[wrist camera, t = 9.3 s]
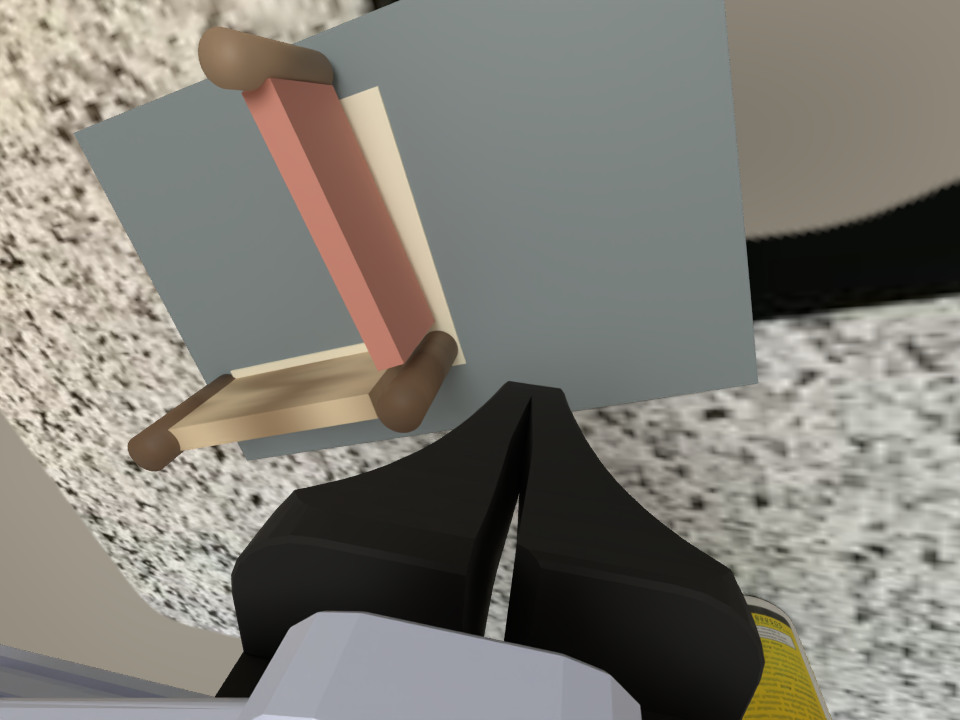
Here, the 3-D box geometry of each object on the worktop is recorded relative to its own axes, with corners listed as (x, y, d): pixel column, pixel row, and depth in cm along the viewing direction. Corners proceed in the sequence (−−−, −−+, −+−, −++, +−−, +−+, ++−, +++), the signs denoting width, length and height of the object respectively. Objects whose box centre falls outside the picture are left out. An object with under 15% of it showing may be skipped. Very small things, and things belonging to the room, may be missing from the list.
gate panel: (440, 319, 21) (400, 374, 16) (409, 328, 21) (363, 385, 17) (321, 42, 17) (229, 16, 13) (287, 60, 18) (188, 41, 13)
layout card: (251, 456, 27) (246, 461, 27) (81, 132, 21) (71, 133, 21) (755, 378, 20) (758, 384, 20) (710, -122, 15) (713, -129, 14)
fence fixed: (230, 401, 26) (141, 473, 21) (215, 373, 25) (120, 439, 20) (465, 356, 22) (429, 429, 17) (454, 322, 22) (413, 387, 17)
